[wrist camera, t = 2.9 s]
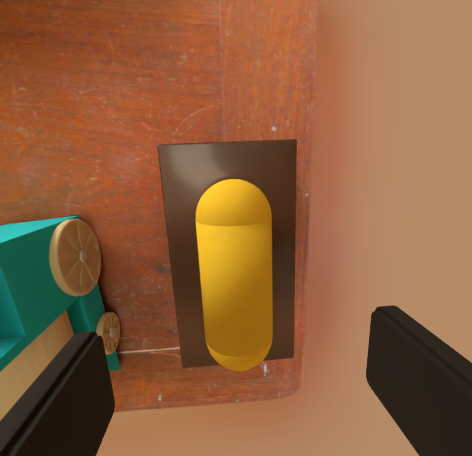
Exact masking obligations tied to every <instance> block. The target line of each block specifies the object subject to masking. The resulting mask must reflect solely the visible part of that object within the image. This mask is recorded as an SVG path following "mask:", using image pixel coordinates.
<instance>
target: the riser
mask: <svg viewBox="0 0 472 456" xmlns="http://www.w3.org/2000/svg"><path fill="white" fill-rule="evenodd" d="M157 147H158V156H159V165H160V174H161V183H162V192H163V201H164V210H165V219H166V228H167V236H168V245H169V254H170V263H171V272H172V281H173V290H174V299H175V308H176V317H177V326H178V335H179V344H180V353H181V362H182V368H190V367H200V366H211V365H220V364H219V363H218V362H217V361H216V360H215V359H214V358H213V357H212V355H211V354H210V352H209V349H208V347H207V344H206V339H205V327H204V315H203V303H202V291H201V279H200V267H199V255H198V243H197V231H196V209H197V205H198V203H199V200H200V198H201V197H202V195H203V194H204V193H205V191H207V190H208V189H209V188H210V187H211V186H213V185H214V184H216V183H218V182H220V181H223V180H228V179H240V180H244V181H247V182H249V183H251V184H253V185H255V186H256V187H257V188H259V189H260V190H261V191H262V193H263V194H264V195H265V197H266V198H267V200H268V202H269V205H270V208H271V214H272V302H273V337H272V344H271V347H270V350H269V352H268V354H267V355H266V357H265V358H264V359H263V361H265V360H276V359H287V358H293V357H294V299H295V227H296V155H297V140H296V139H289V140H263V141H236V142H210V143H184V144H159V145H158V146H157Z"/></svg>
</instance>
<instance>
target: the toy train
mask: <svg viewBox="0 0 472 456" xmlns="http://www.w3.org/2000/svg"><path fill="white" fill-rule="evenodd" d="M100 271H101V252H100V247H99V243H98V240H97V237H96V235H95V233H94V231H93V230H92V229H91V227H90V226H89V225H88V224H87V223H86V222H84V221H82V220H80V217H79V215H78V216H70V217H62V218H54V219H46V220H38V221H30V222H22V223H14V224H6V225H2V226H0V421H1V419H2V418H3V417H4V416H5V415H6V414H7V412H8V411H9V410H10V409H11V408H12V407H13V405H14V404H15V403H16V402H17V401H18V399H19V398H20V397H21V396H22V395H23V394H24V392H25V391H26V390H27V389H28V388H29V387H30V385H31V384H32V383H33V382H34V381H35V380H36V378H37V377H38V376H39V375H40V374H41V372H42V371H43V370H44V369H45V368H46V367H47V365H48V364H49V363H50V362H51V361H52V360H53V358H54V357H55V356H56V355H57V354H58V352H59V351H60V350H61V349H62V348H63V347H64V345H65V344H66V343H67V342H68V341H69V340H70V338H71V337H72V336H73V335H74V334H76V333H82V332H96V333H97V335H98V336H102V338H103V342H104V347H105V353H106V358H107V363H108V368H109V371H113V370H119V369H121V368H120V364H119V360H118V357H117V353H116V348H117V345H118V342H119V338H120V324H119V320H118V317H117V315H116V314H115V313H114V312H106V313H105V309H104V305H103V302H102V298H101V294H100V291H99V287H98V283H97V282H98V279H99V275H100Z"/></svg>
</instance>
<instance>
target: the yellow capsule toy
mask: <svg viewBox="0 0 472 456" xmlns="http://www.w3.org/2000/svg"><path fill="white" fill-rule="evenodd" d="M196 231H197V243H198V255H199V267H200V279H201V291H202V303H203V315H204V327H205V339H206V344H207V347H208V349H209V352H210V354H211V355H212V357H213V358H214V359H215V360H216V361H217V362H218V363H219V364H220V365H222V366H223V367H225V368H227V369H230V370H234V371H244V370H248V369H251V368H253V367H255V366H257V365H258V364H259V363H261V362H262V361H263V359H264V358H265V357H266V355H267V354H268V352H269V350H270V347H271V344H272V337H273V302H272V214H271V208H270V205H269V202H268V200H267V198H266V197H265V195H264V194H263V193H262V191H261V190H260V189H259V188H257V187H256V186H255V185H253V184H251V183H249V182H247V181H244V180H240V179H228V180H223V181H220V182H218V183H216V184H214V185H213V186H211V187H210V188H209V189H208V190H207V191H205V193H204V194H203V195H202V197H201V198H200V200H199V203H198V205H197V209H196Z"/></svg>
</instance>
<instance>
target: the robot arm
mask: <svg viewBox="0 0 472 456" xmlns="http://www.w3.org/2000/svg"><path fill="white" fill-rule="evenodd" d="M366 377H367V381H368V384H369V386H370V387H371V389H372V390H373V391H374V393H375V394H376V396H377V397H378V398H379V400H380V401H381V403H382V404H383V405H384V407H385V408H386V409H387V411H388V412H389V414H390V415H391V417H392V418H393V419H394V420H395V422H396V423H397V425H398V426H399V428H400V429H401V430H402V432H403V433H404V435H405V436H406V438H407V439H408V440H409V442H410V443H411V445H412V446H413V447H414V449H415V450H416V452H417V453H418V454H419V456H472V363H471V362H470V361H468V360H467V359H466V358H464V357H463V356H462V355H460V354H459V353H458V352H456V351H455V350H454V349H452V348H451V347H450V346H448V345H447V344H446V343H445V342H443V341H442V340H441V339H439V338H438V337H437V336H435V335H434V334H433V333H431V332H430V331H429V330H427V329H426V328H425V327H423V326H422V325H421V324H419V323H418V322H416V321H415V320H414V319H413V318H411V317H410V316H409V315H407V314H406V313H405V312H403V311H402V310H401V309H399V308H398V307H396V306H382V307H377V308H376V310H375V311H374V312H372V315H371V325H370V336H369V348H368V358H367V369H366ZM114 407H115V400H114V395H113V390H112V384H111V379H110V374H109V368H108V363H107V358H106V353H105V347H104V342H103V338H102V336H98V335H97V333H96V332H82V333H76V334H74V335H73V336H72V337H71V338H70V340H69V341H68V342H67V343H66V344H65V345H64V347H63V348H62V349H61V350H60V351H59V352H58V354H57V355H56V356H55V357H54V358H53V360H52V361H51V362H50V363H49V364H48V365H47V367H46V368H45V369H44V370H43V371H42V372H41V374H40V375H39V376H38V377H37V378H36V380H35V381H34V382H33V383H32V384H31V385H30V387H29V388H28V389H27V390H26V391H25V392H24V394H23V395H22V396H21V397H20V398H19V399H18V401H17V402H16V403H15V404H14V405H13V407H12V408H11V409H10V410H9V411H8V412H7V414H6V415H5V416H4V417H3V418H2V419H1V421H0V456H96V454H97V452H98V449H99V447H100V444H101V442H102V439H103V437H104V434H105V432H106V430H107V427H108V425H109V423H110V420H111V418H112V415H113V412H114Z"/></svg>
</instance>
